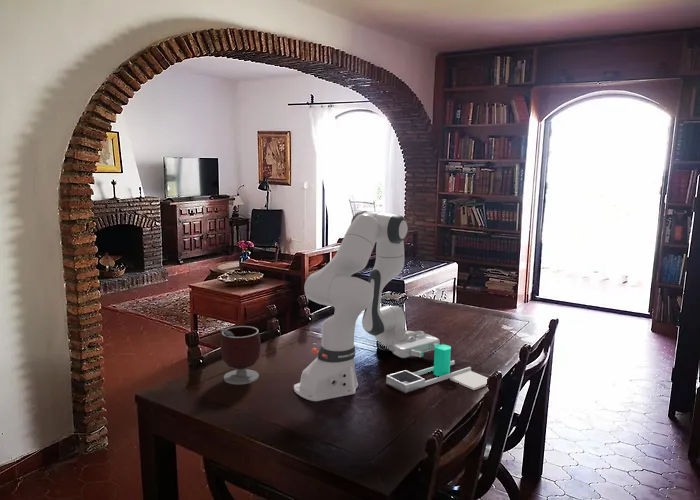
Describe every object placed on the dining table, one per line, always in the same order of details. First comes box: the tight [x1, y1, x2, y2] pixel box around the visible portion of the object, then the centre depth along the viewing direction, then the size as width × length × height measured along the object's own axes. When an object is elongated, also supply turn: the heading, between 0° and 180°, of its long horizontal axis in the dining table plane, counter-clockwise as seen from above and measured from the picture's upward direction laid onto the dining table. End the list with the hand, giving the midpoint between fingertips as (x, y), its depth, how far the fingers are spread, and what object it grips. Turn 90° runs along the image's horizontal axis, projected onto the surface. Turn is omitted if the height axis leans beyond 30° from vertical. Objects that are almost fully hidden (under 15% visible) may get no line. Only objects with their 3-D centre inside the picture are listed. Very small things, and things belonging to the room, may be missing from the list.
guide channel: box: [412, 359, 472, 387], centre depth 199 cm, size 24×9×2 cm, turn 127°
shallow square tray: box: [385, 369, 426, 394], centre depth 189 cm, size 9×10×3 cm
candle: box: [433, 344, 452, 377], centre depth 199 cm, size 6×6×12 cm
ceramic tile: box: [449, 370, 489, 391], centre depth 194 cm, size 11×11×1 cm
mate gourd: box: [219, 325, 262, 386], centre depth 192 cm, size 16×14×20 cm
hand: (431, 352), depth 203 cm, fingers open, 8 cm apart
